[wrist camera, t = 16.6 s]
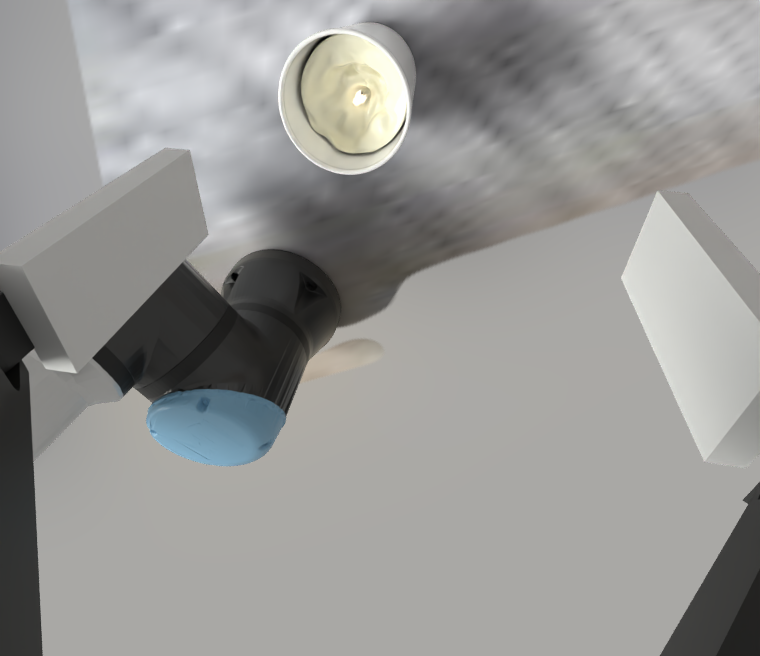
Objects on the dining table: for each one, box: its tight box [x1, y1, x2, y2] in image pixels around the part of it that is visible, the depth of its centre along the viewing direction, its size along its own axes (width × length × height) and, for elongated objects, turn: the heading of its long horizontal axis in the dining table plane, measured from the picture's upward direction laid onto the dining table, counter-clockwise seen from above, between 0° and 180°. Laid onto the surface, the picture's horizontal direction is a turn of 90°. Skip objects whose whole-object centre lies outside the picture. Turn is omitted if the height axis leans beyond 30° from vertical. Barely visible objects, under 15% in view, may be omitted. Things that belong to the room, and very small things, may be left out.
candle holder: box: [278, 22, 416, 175], centre depth 38 cm, size 10×10×12 cm
